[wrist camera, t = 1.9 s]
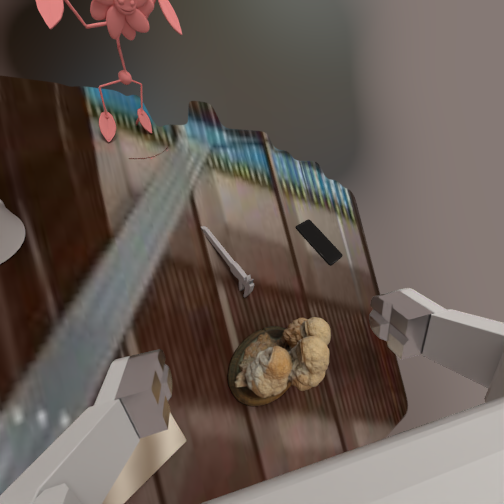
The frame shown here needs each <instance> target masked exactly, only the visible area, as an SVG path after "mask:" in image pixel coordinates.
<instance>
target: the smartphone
mask: <svg viewBox="0 0 504 504" xmlns="http://www.w3.org/2000/svg"><path fill="white" fill-rule="evenodd" d="M296 229H297V230H298V231H299V233H300V234H301V235H302V236H303V237H304V238H305V239H306V240H307V241H308V242H309V244H310V245H311V246H312V247H313V248H314V249H315V250H316V251H317V252H318V254H319V255H320V256H321V257H322V258H323V259H324V260H325V261H326V262H327V263H328V265H330V266H331V265H332V264H334V263H335V262H336V261H337V260H339V259H340V258H341V257H342V254H341V253H340V252H339V250H338V249H337V248H336V247H335V246H334V245H333V244H332V243H331V242H330V241H329V240H328V239H327V238H326V237H325V235H324V234H323V233H322V232H321V231H320V230H319V229H318V228H317V227H316V226H315V225H314V224H313V223H312V222H311V221H310V220H306V221H305V222H303V223H301V224H299V225H297V226H296Z"/></svg>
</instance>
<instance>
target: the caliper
mask: <svg viewBox="0 0 504 504" xmlns="http://www.w3.org/2000/svg"><path fill="white" fill-rule="evenodd" d="M201 229H202V230H203V232H204V234H205V235H206V237H207V238H208V240H209V241H210V242H211V243H212V245H213V246H214V247H215V249H216V250H217V251H218V252H219V254H220V255H221V256H222V258H223V259H224V260H225V261H226V263H227V264H228V265H229V267H230V268H231V269H230V271H231V272H232V273H233V275H234V276H235V277H236V278H238V280H239V290H240V291H242V290H244V288H245V287H246V288H245V292H244V297H247V296H248V295H249V294H250V293H251V292H252V291H253V287H254V284H253V280H254V279H251V277H250V275H248V276H247V275H246V273H245V272H244V271H243V270H242V269H241V267H240V266H239V265H238V264H237V262H234V260H233V259H232V258H231V257H230V255H229V254H228V253H227V252H226V250H225V249H224V248H223V246H222V245H221V244H220V243H219V241H218V240H217V239H216V238H215V236H214V235H213V234H212V233H211V231H210V230H209V229H208V228H206V227H205V226H203V227H201Z"/></svg>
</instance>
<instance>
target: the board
mask: <svg viewBox="0 0 504 504" xmlns="http://www.w3.org/2000/svg"><path fill="white" fill-rule="evenodd" d="M186 441H187V440H186V438H185V437H184V435H183V433H182V432H181V430H180V428H179V427H178V425H177V423H176V422H175V420H174V418H173V417H172V415H171V413H170V416H169V425H168V430H165V431H162V432H159V433H155V434H152V435H149V436H146V437H143V438H140V441H139V443H138V445H137V446H136V448H135V449H134V451H133V453H132V454H131V456H130V458H129V459H128V461H127V463H126V464H125V466H124V468H123V469H122V471H121V473H120V474H119V476H118V478H117V479H116V481H115V483H114V484H113V486H112V488H111V489H110V491H109V493H108V494H107V496H106V498H105V499H104V501H103V503H102V504H124V503H125V502H126V501H127V500H128V499H129V498H130V497H131V496H132V495H133V494H134V493H135V492H136V491H137V490H138V489H139V488H140V487H141V486H142V485H143V484H144V483H145V482H146V481H147V480H148V479H149V478H150V477H151V476H152V475H153V474H154V473H155V472H156V471H157V470H158V469H159V468H160V467H161V466H162V465H163V464H164V463H165V462H166V461H167V460H168V459H169V458H170V457H171V456H172V455H173V454H174V453H175V452H176V451H177V450H178V449H179V448H180V447H181V446H182V445H183V444H184V443H185V442H186Z"/></svg>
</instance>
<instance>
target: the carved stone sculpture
mask: <svg viewBox="0 0 504 504" xmlns="http://www.w3.org/2000/svg"><path fill="white" fill-rule="evenodd" d="M264 329H265V330H266V331H264ZM330 335H331V334H330V327H329V325H328V323H326V322H325V320H323V319H321V318H316V317H313V318H310V319H305V318H299V319H296V320H294V321H293V323H291V324H290V325H289V326H288V328H287V329H285V328H282V327H277V326H271V327H266V328H263V330H258V331H256V332H254V333H253V334H251V335H250V336H249V337H247V338H246V339H245V340H244V341H243V342H242V343H241V344H240V346H239V347H238V348H237V349H236V351H235V353H234V355H233V357H232V359H231V362H230V365H229V372H228V384H229V387H230V390H231V392H232V394H233V395H234V397H235V398H236V399H237V400H238V401H239V402H241V403H242V404H245V405H249V406H261V405H265V404H268V403H270V402H272V401H274V400H276V399H277V398H279V397H280V396H281V395H283V394H284V393H285V392H286V391H287V389H288V388H289V387H290V386H291V385H294V386H296V387H297V388H298V389H299V390H300V391H304V390H308V389H310V388H311V387H313V386H314V387H315V386H317V385H318V384H319V382H321V381H322V380H323V378H324V376H325V371H326V370H327V367H328V364H329V349H328V347H327V345H328V344H329V342H330V337H331V336H330Z"/></svg>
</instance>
